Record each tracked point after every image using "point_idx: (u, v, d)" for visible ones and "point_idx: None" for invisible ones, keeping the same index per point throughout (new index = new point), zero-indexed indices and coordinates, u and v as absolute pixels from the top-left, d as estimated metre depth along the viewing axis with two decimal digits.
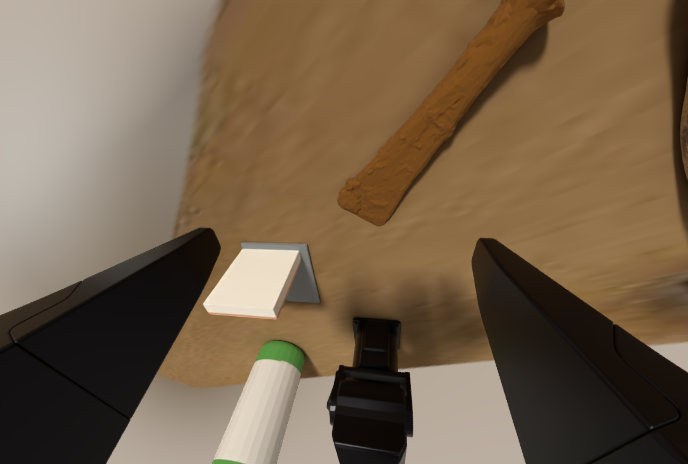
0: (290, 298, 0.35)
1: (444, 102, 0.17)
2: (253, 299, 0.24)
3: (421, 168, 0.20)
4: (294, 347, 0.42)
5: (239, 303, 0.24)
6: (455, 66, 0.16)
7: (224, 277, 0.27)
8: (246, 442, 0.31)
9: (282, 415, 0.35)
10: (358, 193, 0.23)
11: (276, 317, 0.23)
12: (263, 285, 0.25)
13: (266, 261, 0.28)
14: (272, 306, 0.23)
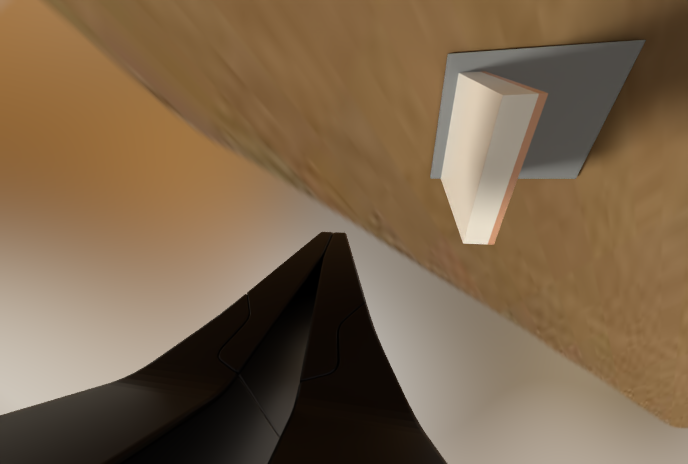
0: (594, 119, 0.16)
1: None
2: (480, 149, 0.12)
3: None
4: None
5: (477, 177, 0.12)
6: None
7: (452, 206, 0.16)
8: None
9: None
10: None
11: (538, 93, 0.09)
12: (472, 132, 0.13)
13: (455, 134, 0.16)
14: (498, 99, 0.10)
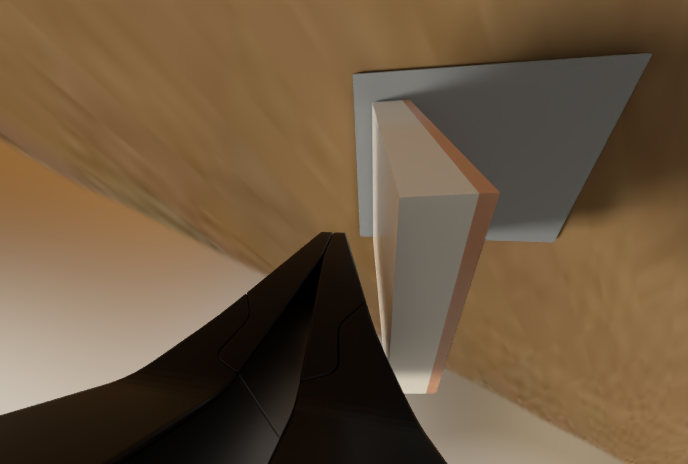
0: (576, 168, 0.11)
1: None
2: (388, 264, 0.06)
3: None
4: None
5: (389, 314, 0.06)
6: None
7: (379, 300, 0.11)
8: None
9: None
10: None
11: (477, 192, 0.04)
12: (382, 216, 0.07)
13: (375, 194, 0.11)
14: (396, 198, 0.04)
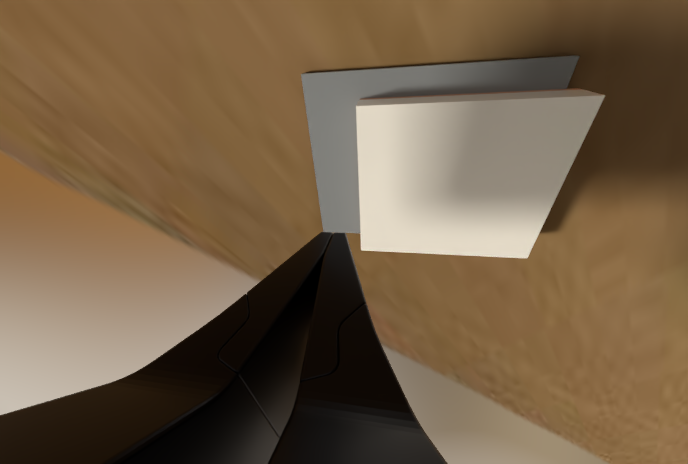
0: None
1: None
2: (544, 164, 0.10)
3: None
4: None
5: (549, 191, 0.10)
6: None
7: (452, 251, 0.13)
8: None
9: None
10: None
11: (581, 89, 0.09)
12: (498, 157, 0.10)
13: (404, 184, 0.11)
14: (591, 102, 0.08)
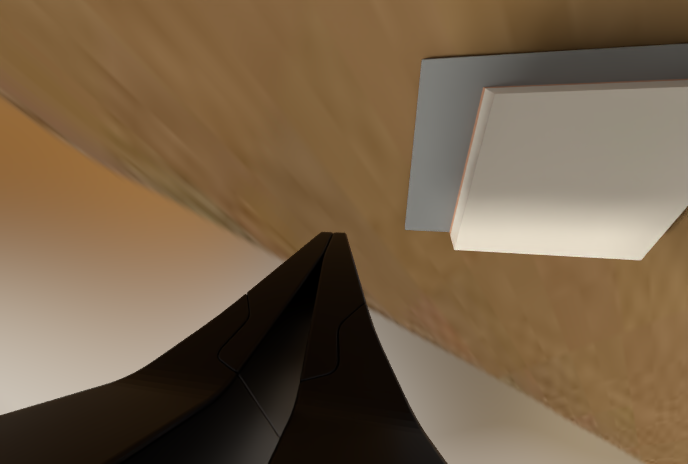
0: None
1: None
2: None
3: None
4: None
5: None
6: None
7: (557, 251, 0.12)
8: None
9: None
10: None
11: None
12: (643, 151, 0.09)
13: (525, 179, 0.10)
14: None
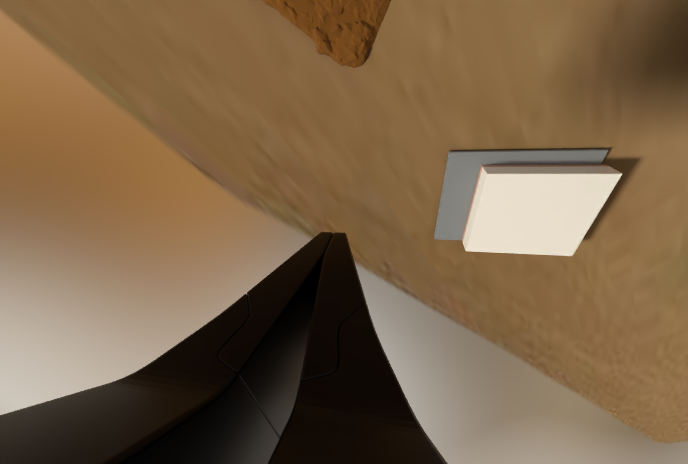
0: None
1: None
2: (588, 204, 0.18)
3: None
4: None
5: (589, 218, 0.18)
6: None
7: (525, 251, 0.21)
8: None
9: None
10: (332, 29, 0.15)
11: (609, 166, 0.17)
12: (562, 200, 0.18)
13: (504, 213, 0.19)
14: (615, 176, 0.16)
